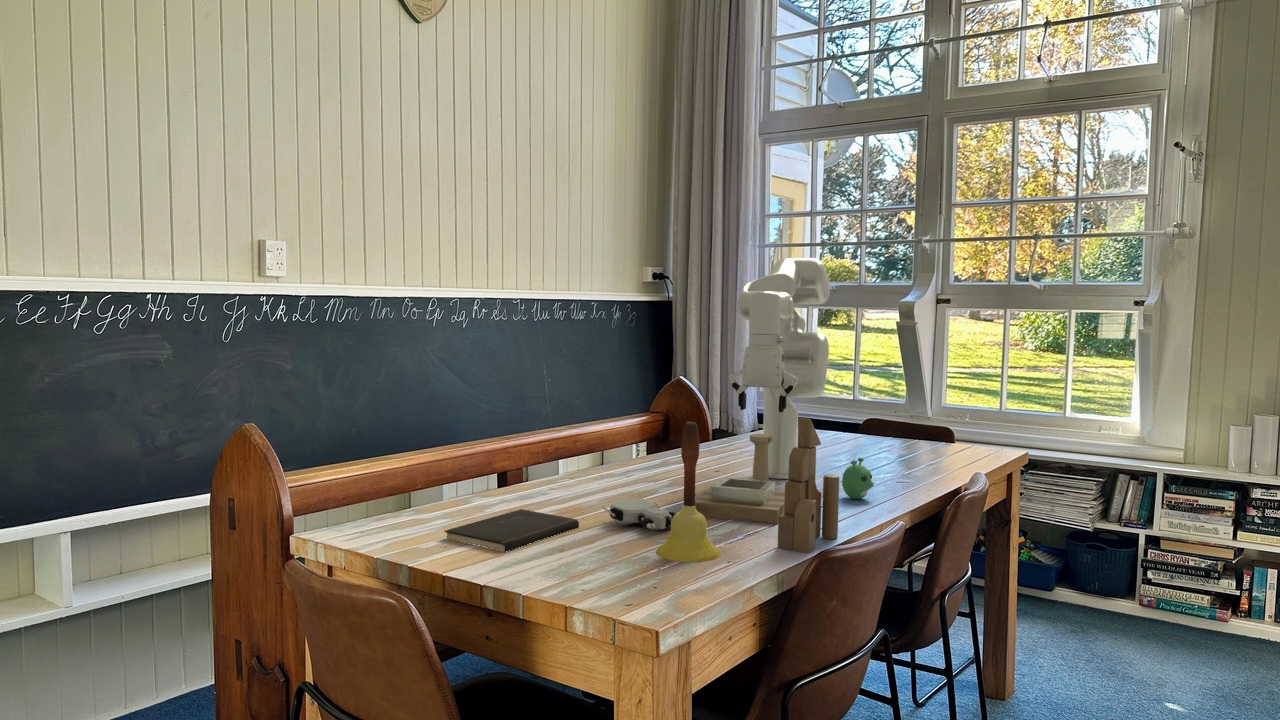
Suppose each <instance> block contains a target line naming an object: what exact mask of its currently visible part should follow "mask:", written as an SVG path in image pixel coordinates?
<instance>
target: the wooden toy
mask: <svg viewBox="0 0 1280 720" xmlns="http://www.w3.org/2000/svg"><path fill="white" fill-rule="evenodd" d="M821 445H822V441H821V440H820V437H819V435H818V432H817V431H816V428H815V426H814V423H813V421H812V419H810V418H807V417H804V418H802V417H798V443H797V447H794V448H793V449H792V451H791V454H790V456H789V472H788V479H787V481H785V483H784V491H785V502H784V513H785V514H783V515H780V516H779V517H778V525H777V548H778V549H781V550H787V551H794V552H799V553H804V554H809V553H811V552H813V551H815V550H816V539H818V538H819V537H822V538H823V539H826V540H836V539H837V538H838V536H839V535H838V534H839V505H840V501H839V500H840V477H839V475H836V474H825V475H823V477H822V479H823V481H822V482H823V483H822V491H819V489H818V487H817V484H816V472H817V469H816V466H817V447H818V446H821Z"/></svg>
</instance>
